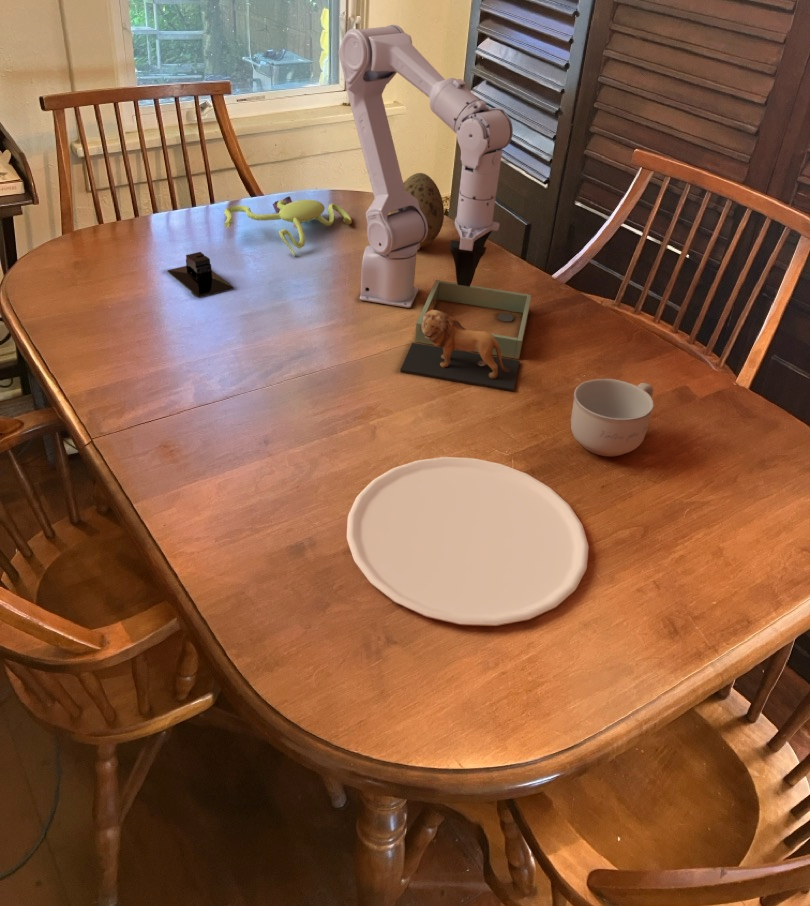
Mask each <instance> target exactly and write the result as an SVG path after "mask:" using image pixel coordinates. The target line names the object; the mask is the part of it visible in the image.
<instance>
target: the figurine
mask: <svg viewBox="0 0 810 906" xmlns="http://www.w3.org/2000/svg"><path fill="white" fill-rule="evenodd" d="M272 207H273V209H274V212H275V213H267V214H266V213H263V214H257V213H254V212H252V211H251V208H250V207H249V206H247V205H233V206H229V207H227V208H225V209H224V211H223V212H224V216H225V217H226V220H225V222H224V226H225V228H226V229H229V228H230V227H231V225H232V223H233V220H234V219H233V216H234V215H233V214H232V213H238V212H242V213H245V214H246V216H247V217H248V218H249V219H251V220H255V221H262V222H263V221H276V220H283V221H285V222H288V223H293V228H295V229H297V234H298V236H299V242H297V240H296V239H295V237H294V236H293V235H292V233H291V232H290V231H289V230H288V229H286V228H282V229H281V230H278V234H279V237H280V239H281V240H282V241H283V242H284V243H285V246H287V247H288V249H289V250H290V253H291V254H292V256H293V257H295V256H296V254H295V252H294V249H293V248H292V246H291V245H290V243H289V242H288V240H287V238H286V236H287V237H288V238H289V239H290V241H291V243H292V244H293V246H294V247H296V248H297V249H302V248H303V247H305V244H306V236H305V231H304V227H303V225H302V223H305V224H306V223H307V222H309V221H313V220H315V221H318V222H320V223H321V224H322V225H324V226H326V227H330V226H331V225H332V224H334V221H335V212H334V211H336V212H337V213H339V215H340V216H341V217H343V219H342V221H343V223H344V224H345V225H347V226H349V225H351V224H352V221H353V220H352V218H351V216H350V215H349V214H348V213H347V211H345V210H344V209H343V207H341V206H340V205H338V204H336V203H330V204H329V205H328V207H327V213H328V219H326V218H325V217H324V216H322V214H323V213H324V212H325V205H324V204H323V203H322V202H321V201H318V200H315V199H300V200H294V201H292V197H291V196H286V197H284V198H282V199H281V200H276V201H274V202H273V203H272Z"/></svg>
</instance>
